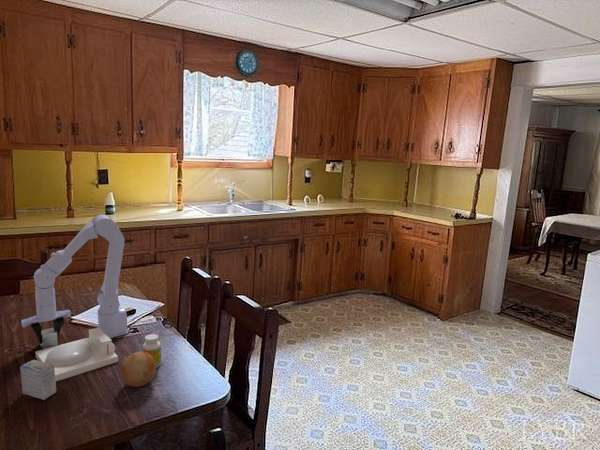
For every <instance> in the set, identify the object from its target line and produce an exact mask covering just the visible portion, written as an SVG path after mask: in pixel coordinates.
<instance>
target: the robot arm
mask: <svg viewBox="0 0 600 450" xmlns="http://www.w3.org/2000/svg"><path fill="white" fill-rule="evenodd" d="M98 235H99V236H101V237H103V238H104V239H106V240H107V241H108V243H109V244H108V251H107V258H106V262H105V263H106V264H105V270H104V271H105V272H104V277H103V284H102V285H101V287H100V292H99V293H98V295H97V296H96V301H97V304H98V305H99V308H98V309H97V324H98V325H97V326H98V327H97V328H99V329H100V330H101V331H102V332H103V333H105V334H106V335H107V336H108V337H109V338H110V339H113V338H115V337H120V336H123V335H126V334H129V331H128V315H127V311H126V309H125V308H124V307H120V300H119V281H120V274H121V268H122V267H121V266H122V262H123V261H122V260H123V254H124V248H125V241H126V240H125V237H124V235H123V233H122V231H121V229H120V228H119V225H118V224H117V223H116V222H115V221H114V220H113V219H112V218H111V217H109V215H106V214H104V213H99V214H97V215H95V216H93V218H92V219H91V220H89V221H88V222H87V223H86V224H85V225H84V227H82V228H81V230H79V232H78V233H77V234H76V235H75V236H74V237H73V238H72V240H71V241H70V242H69V243H68V244H67V246H65V248H64V249H60V250H57V251H56V252H52V253H51V254H50V258H49V259H48V260H47V261H46V262H45V263H44V264H41V265H40V268H38V269H37V270H35V272H34V273H33V274H34V275H33V282H34V289H35V291H34V295H35V308H36V314H35V315H34V316H30V317H28V318H24V319H21V321H20V322H21V326H22V328H26V327H29V326H30V327H31V328H32V330H33V331H34V334H35V336H36V338H37V341H38V343H39V345H40V344H42V336H41V330H43V329H42V328H43V327H42V326H41V323H45V322H50V321H52V325H53V328H54V329H55V330H56V332H57V341H58V340H59V337H60V333H61V330H62V327H63V326H64V324H65V319H64V318H66V317H67V318H70V317H72V312H71V310H70V309H66V310H57V304H56V289H55V288H54V284H55V283H56V278H57V277H59V276H60V275H61V274H62V272H63V271H65V270H66V269H67V267H69V265H70V264H71V263H72V262H73V258H72V256H74V255H75V253H76V252H78V251H79V249H81V248H82V247H83V246H84V245H85V244H86V243H87V242H88V241H89V240H93V239H94V240H95V239H98V238H99V236H98Z"/></svg>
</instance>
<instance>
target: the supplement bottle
mask: <svg viewBox="0 0 600 450" xmlns="http://www.w3.org/2000/svg"><path fill="white" fill-rule="evenodd" d="M161 347H162V345H161V342H160V341H159V335H158V334H153V333H151V334H147V335H145V337H144V343H143V345H142V351H144V352H147V353H149V354H150V355H151V356H152V357H153V359H154V361H155V364H156V368H158V367H160V366H161V363H162V357H161V355H162V351H161V349H162V348H161Z"/></svg>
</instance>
